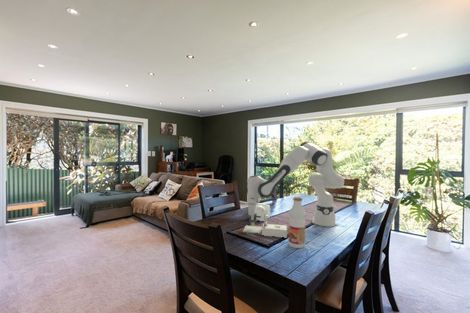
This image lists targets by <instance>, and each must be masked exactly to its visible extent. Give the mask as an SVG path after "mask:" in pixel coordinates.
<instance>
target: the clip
mask: <svg viewBox="0 0 470 313" xmlns="http://www.w3.org/2000/svg"><path fill="white" fill-rule="evenodd" d="M267 217H268V211H265V213H264V221H263V224H264V226H267V224H268V219H267Z"/></svg>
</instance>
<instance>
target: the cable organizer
mask: <svg viewBox="0 0 470 313" xmlns="http://www.w3.org/2000/svg"><path fill="white" fill-rule="evenodd" d="M265 211H268V217H267V220H268V219H270V217H271V206H270V205H269V204H266V203H260V202H258V204H257V210H256V212H255V213H257V216H261V218H258V217H257V221H258V220H259V222H264V213H265Z"/></svg>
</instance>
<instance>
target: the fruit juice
mask: <svg viewBox="0 0 470 313" xmlns="http://www.w3.org/2000/svg"><path fill="white" fill-rule="evenodd" d="M292 200H293V204H292V206H291V208H290V209H289V212H288V213H289V219H288V241H287V242H288V245H289V247H291V248H293V249H294V248H295V249H303V248H305V245H306V220H305V217H306V211H305V209H304V207H303V204H302V201H303V198H302V197H296V196H295V197H293V199H292Z"/></svg>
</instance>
